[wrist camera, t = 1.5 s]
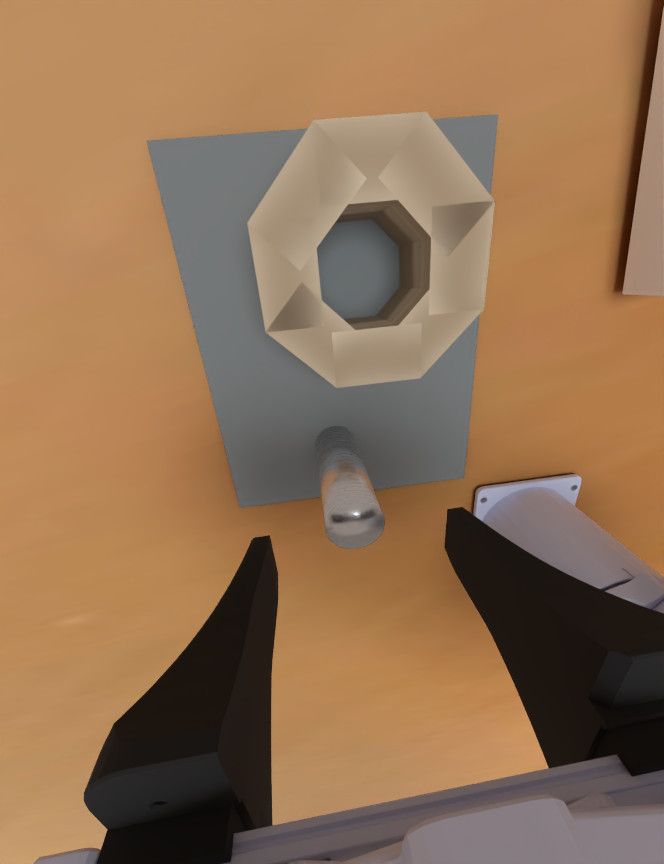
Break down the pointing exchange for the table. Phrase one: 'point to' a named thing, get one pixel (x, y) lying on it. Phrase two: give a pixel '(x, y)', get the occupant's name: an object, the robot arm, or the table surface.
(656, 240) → the bracket
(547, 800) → the robot arm
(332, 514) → the peg
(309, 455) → the mat
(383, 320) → the ring
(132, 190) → the table surface
